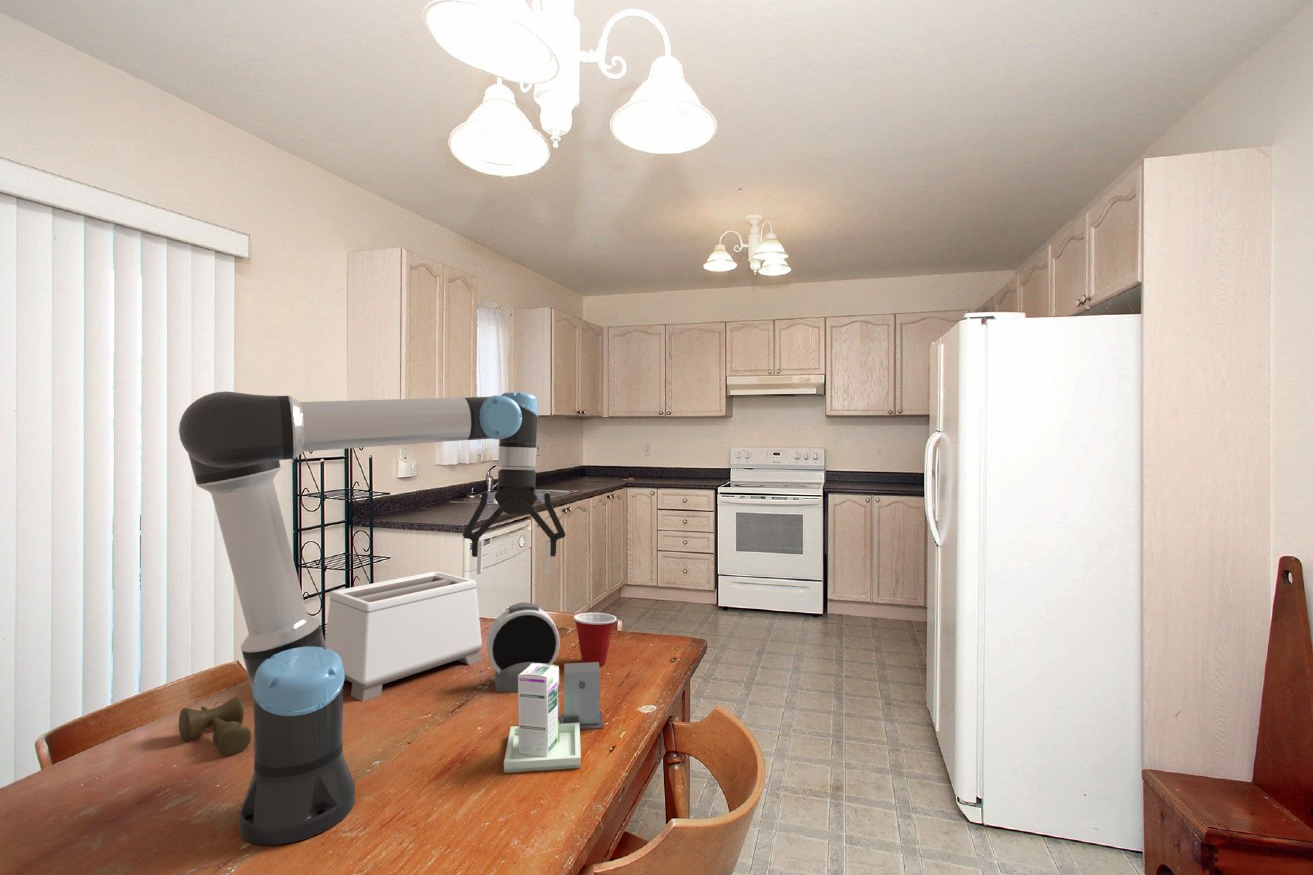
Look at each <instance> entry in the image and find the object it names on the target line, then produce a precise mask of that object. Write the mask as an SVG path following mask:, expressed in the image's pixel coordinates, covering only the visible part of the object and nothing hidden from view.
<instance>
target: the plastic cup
mask: <svg viewBox="0 0 1313 875" xmlns="http://www.w3.org/2000/svg"><path fill="white" fill-rule="evenodd" d="M573 620H574V622H575V626H576V630H577V631H576V632H577V636H578V643H579V646H578V647H579V651H580V656H581V663H592V662H599V667H600V668H601V667H603V666H605V665H606V662H607V657H608V652H609V649H610V648H609V647H610V643H611V635H612V631H613V628H614V624H615V623H616V621H617V617H616V616H615V615H613V614H609V613H604V612H584V613H578V614H575V615H574V616H573Z"/></svg>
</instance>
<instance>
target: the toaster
mask: <svg viewBox="0 0 1313 875" xmlns="http://www.w3.org/2000/svg"><path fill="white" fill-rule="evenodd" d="M479 614H480V613H479V602H478V593H477V582H476V580H474V579H470V578H466V577H462V576H458V575H454V574H451V573H450V574H449V573H448V572H447V573H446V572H442V571H439V570H437V571H436V570H435V571H430V572H426V573H421V574H414V575H411V576H405V577H399V578H396V579H395V578H394V579H389V580H383V581H379V582H373V583H367V584H364V585H363V584H362V585H358V586H357V585H356V586H352V587H348V588H347V587H346V588H341V589H336V590H332V591H331V592H330V594H329V608H328V614H327V624H326V632H325V638H324V640H325V644H326V648H327V649H330V650H332V651H334V652H336V653H337V654H338V655H339V656H340V658H341V660H342V664H343V670H344V677H345V678H344V682H346V681H348V682H350V683H352V684H351V690H350V696H351V697H353V698H354V697H355V699H356V700H358V699H359V700H358V701H360V702H362V701H363V702H366V701H369V700H371V699H375V698H378V697H381V696H382V690H383V685H384V684H388V683H391V682H393V681H397V680H399V679H403V678H405V677H409V676H411V675H415V674H418V673H421V672H424V671H428V670H431V669H433V668H436V667H439V666H441V665H445V664H448V663H451V662H455V661H457V662H459V663H463V664H465V665H466V666H467V665H468V666H470V665H471V666H472V665H473V664H476V663H479V662H478V661H480V662H482V660H483V658H482V655H481V654H480V652H479V651H480V650H481V649H482V644H483V642H482V635H481V634H482V633H481V632H482V631H481V623H480V615H479ZM377 696H378V697H377Z"/></svg>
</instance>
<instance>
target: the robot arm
mask: <svg viewBox="0 0 1313 875" xmlns="http://www.w3.org/2000/svg"><path fill="white" fill-rule="evenodd" d="M538 411H539V410H538V398H537V397H536V395H534V394H531V393H528V392H513V391H512V392H510V391H509V392H504V393H502V394H501V395H491V396H477V397H476V396H474V397H473V396H471V397H436V398H435V397H433V398H429V397H428V398H427V397H426V398H397V399H394V398H393V399H392V398H391V399H390V398H389V399H364V400H363V399H362V400H324V401H323V400H321V401H298V400H297V399H295V398H294V397H293V396H291V395H265V394H264V395H263V394H251V393H244V392H235V391H216V392H212V393H209V394H206V395H204V396H201V397H199V398H198V399H196V400H195V401H193V402H192V403H191V404H190V405H188V407H187V408H186V409H185V411H184V412H183V414H182V416H181V417H180V421H179V426H178V435H179V439H180V442H181V445H182V447H183V448H184V450H185V451H186V452H187V455H188V458H189V462H190V466H191V468H192V474H193V476H194V479H195V484H196V486H197V487H198V488H200V489H202V490H204V491H207V492H208V493H210V494H211V497H212V501H213V505H214V509H215V513H216V516H217V520H218V523H219V528H220V531H221V535H222V539H223V541H224V542H223V543H224V545H225V546H224V547H225V550H226V553H227V557H228V560H229V564H230V568H231V572H232V576H233V580H234V583H235V587H236V590H237V594H238V600H239V602H240V606H241V609H242V614H243V617H244V621H245V625H246V628H247V632H248V634H247V636H246V637H245V639H244V641H243V642H242V643H241V646H240V649H241V653H242V654H241V655H242V657H243V661H244V664H245V668H246V672H247V676H248V679H249V680H248V681H249V683H250V687H251V693H252V706H253V723H254V725H253V726H254V727H253V728H254V729H253V761H254V762H253V765H254V766H253V773H252V776H251V778H250V779H251V780H250V783H249V785H248V788H247V791H246V793H245V797H244V800H243V803H242V804H241V805H242V806H241V807H240V811H239V816H238V817H239V819H238V820H239V825H238V826H239V829H238V830H239V835H240V836H241V837H242V839H243V840H245V841H247V842H249V843H251V844H255V845H260V846H278V845H279V846H280V845H284V844H285V845H286V844H291V843H296V842H298V841H303V840H306V839H308V838H311V837H315V836H317V835H319V834H322V833H323V832H326V831H327V830H328V829H330V828H333V827H334V826H336V825H337V824H338V823H340V821H343V819H345V818H346V817H347V815H348V814H350V812H351V811H352V809H353V807H354V806H355V802H356V800H355V799H356V794H355V793H356V791H355V790H356V786H355V782H354V779H353V776H352V773H351V771H350V768H349V766H348V763H347V761H346V758H345V755H344V752H343V751H344V750H343V747H344V746H343V745H344V744H343V740H344V739H343V738H344V736H343V732H344V730H343V729H344V728H343V726H344V717H343V716H344V715H343V714H344V708H343V707H344V700H343V699H344V684H345V683H344V682H345V681H344V678H345V677H344V670H343V664H342V660H341V658H340V656H339V655H338V654H337V653H336V652H334V651H332V650H330V649H327V648H326V644H325V638H324V637H325V636H324V634H323V629H322V626H321V621H320V620H319V619H318V618H316V617H314V616H312V615H309V614H308V612H307V608H306V605H305V600H304V596H303V592H302V589H301V584H300V581H299V577H298V572H297V569H296V566H295V560H294V557H293V553H292V549H291V544H290V541H289V537H288V533H287V530H286V526H285V521H284V518H283V513H282V509H281V506H280V502H279V497H278V495H277V494H278V493H277V490H276V486H275V482H274V479H275V477H276V476H277V474H278V473H279V472H280V471H281V469H282V466H281V462H280V461H284V460H295V459H296V458H298V457H299V456H300V455H301V454H302V453H303V452H316V451H329V450H330V451H331V450H344V449H345V450H346V449H358V448H359V449H360V448H371V447H373V448H374V447H386V446H388V447H389V446H401V445H403V446H404V445H415V444H416V445H417V444H418V445H419V444H428V443H429V444H431V443H442V442H443V443H444V442H446V443H447V442H457V441H458V442H459V441H477V440H478V441H479V440H492V439H493V440H499V443H498V463H497V464H498V466H499V467H501V468H500V469H499V470H498V471H497V473H498V474H497V491H496V493H494V492H488V491H483V492H482V493H481V494H480V502H479V504H478V505H477V508H476V510H475V511H474V513H473V515H472V517H471V519H470V520H469V522H468V524H467V526H466V528H465V530H464V531H463V533H462V536H463V538H465V539H468V540H471V556H472V557H473V558H476V575H482V573H483V556H484V555H483V550H484V548H483V547H484V540H483V539H480V538H481V537H482V536H483V534H484V533H486V531H488V529H489V528H490V527H491V526H492V525H493V523H495V521H496V520H497V519H498V518H499V517H500V516H501V515H502V514H503V513H505V514H506V515H515V514H517V515H525V514H526V513H528V514H529V516H530V517H532V519H533V520H534V521H535V522H536V524H537V525H538V526H539V527H540V529H541V530H542V531H543V532H544V534H545V535H546V536H547V537H548V538H549V539H546V552H545V553H546V555H545V556H546V558H545V559H546V560H545V574H547V575H548V574H550V575H551V557H556V556H557V541H558V540H560V539H564V538H565V537H566V533H565V529H564V527H563V526H562V524H561V522H560V519H559V516H558V515H557V513H556V510H555V509H554V506H553V505H552V501H551V494H550V492H549V491H547V492H545V493H544V492H543V493H537V492H536V476H537V475H536V474H537V472H536V471H535V469H534V468H536V466H537V437H538V436H537V434H538V433H537V432H538V418H539V413H538ZM494 499H495V502H496V503H497V504H498V505H499V506H498V507H497V509H496V510H495V511H494V512H493V514H491V516H490V517H489V518H488V519H487V520H486V521H485V522H484V524H482V525H481V526H480V528H479V529H477V531H476V532H473V530H474V528H475V527H476V525H477V523H478V521H479V520H480V518H481V516H482V514H483V512H484V511H485V508H486V507H487V504H489V503H491V502H492V501H493V500H494ZM537 500H539V501H540V503H541V504H543V505H544V504H545V509H546V511H547V513H548V514H549V517H550V519H551V521H552V523H553V525H554V527H555V529H556V531H557V532H555V531H553V530H552V529H551V527H550V526H549V525H548V523H546V521H545V520H544V519H543V518H542V517H541V515H540V514H539V513H538V512H537V510H536V509H535V507H533V505H535V503H536V502H537Z"/></svg>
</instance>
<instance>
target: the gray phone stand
mask: <svg viewBox="0 0 1313 875" xmlns="http://www.w3.org/2000/svg"><path fill="white" fill-rule="evenodd" d="M563 664H564V667H563V669H564V670H563V673H564V674H563V676H564V677H563V680H564V681H563V713H560V714H559V724H564V723H579V725H580V730H589V729H590V730H591V729H593V730H595V729H604V719H603V712H602V711H601V702H600V701H601V696H600V695H601V669H600V668H601V667H599V662H592V663H583V662H574V663H573V662H572V663H568V662H567V663H563Z"/></svg>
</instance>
